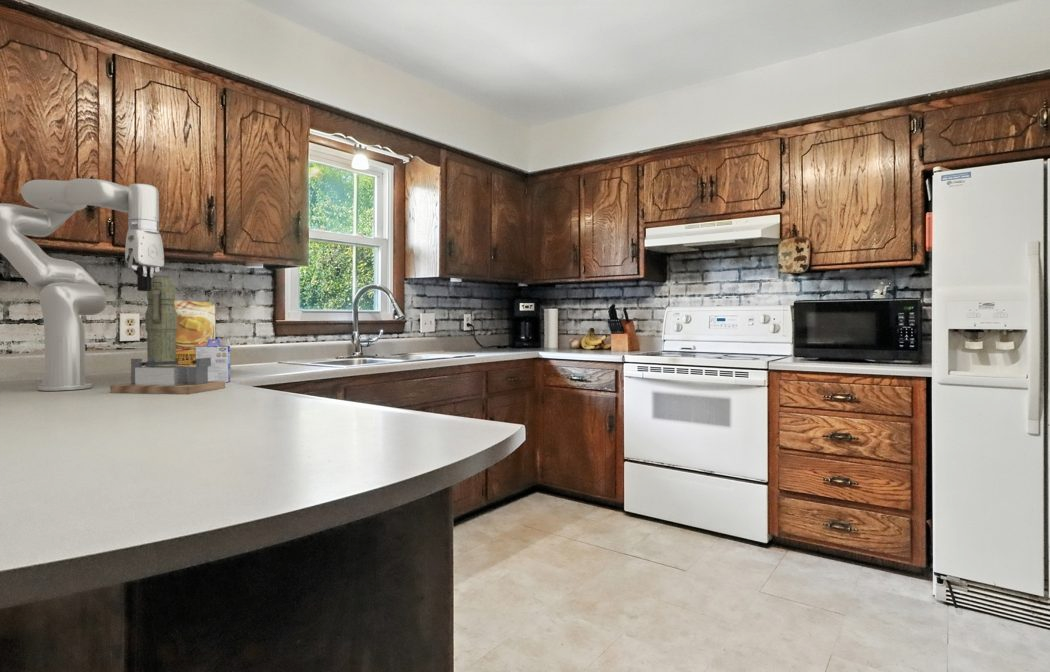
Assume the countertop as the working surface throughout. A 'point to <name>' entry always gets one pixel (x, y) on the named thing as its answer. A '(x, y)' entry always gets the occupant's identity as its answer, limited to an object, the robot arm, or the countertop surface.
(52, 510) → the countertop surface
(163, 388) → the wooden board
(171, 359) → the green stone totem
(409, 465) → the countertop surface
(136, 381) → the heat sink
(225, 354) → the ink cartridge box
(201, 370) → the lug
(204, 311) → the pancake mix bag
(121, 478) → the countertop surface
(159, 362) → the retention strap
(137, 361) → the hinge bracket
